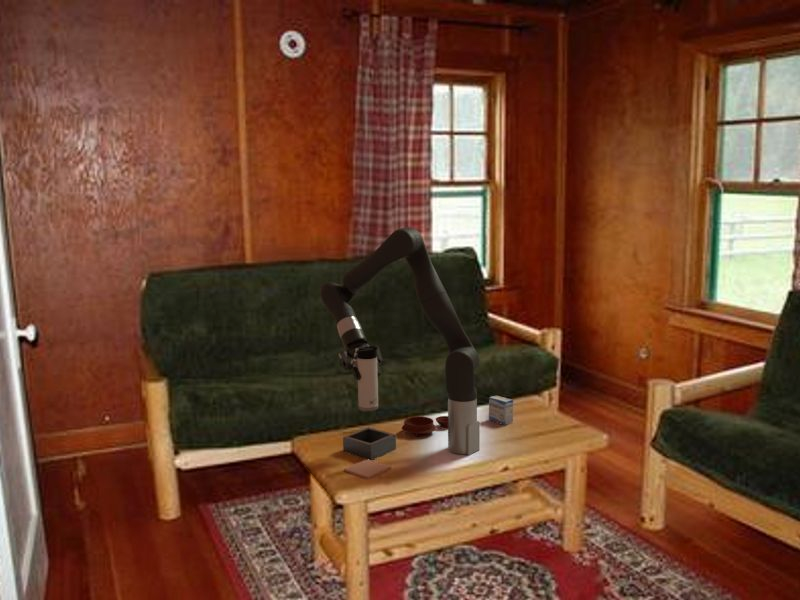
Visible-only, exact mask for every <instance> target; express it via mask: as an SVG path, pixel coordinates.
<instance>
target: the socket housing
mask: <svg viewBox="0 0 800 600" xmlns="http://www.w3.org/2000/svg"><path fill="white" fill-rule="evenodd" d="M342 449H343V450H342V452H343V453H345V452H346V453H345V454H348V453H350V454H349V455H352V454H353V455H352V456H355V455H356V457H358V456H359V458H361V457H362V458H361V459H364V458H365V459H369V460H371V461H374V460H376V459H378V458H380V457H382V456H384V454H385V455H387V454H389V453H391V452H393V450H394V451H396V450H397V435H396V434H395V433H391V432H388V431H385V430H380V429H376V428H373V427H370V426H367V427H364V428H363V429H360V430H357V431H354V432H352V433H350V434H347V435H344V436H342ZM395 449H396V450H395ZM386 453H387V454H386ZM377 457H378V458H377ZM375 458H376V459H375ZM365 459H364V460H365ZM373 459H374V460H373Z"/></svg>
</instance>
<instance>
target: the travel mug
mask: <svg viewBox="0 0 800 600" xmlns="http://www.w3.org/2000/svg"><path fill="white" fill-rule="evenodd" d="M377 349H378V345H375V346H373V345H371V346H370V345H369V347H363V348H360V349H359V350H357V364H356V367H358V370H359V372H360V375H361V378H360V380H357V394H358V395H357V398H358V399H357V400H358V409H359V410H360V411H362V412H373V411H376V410H378V409H379V382H378V381H379V379H378V378H379V377H378V373H377Z"/></svg>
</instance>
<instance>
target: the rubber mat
mask: <svg viewBox="0 0 800 600" xmlns="http://www.w3.org/2000/svg"><path fill="white" fill-rule="evenodd" d="M388 469H389V470H390V469H392V467H391V465H387V464H384V463H381V462H377V461H375V460H368V459H363V460H360V461H359V462H357V463H354V464H352V465H350V466H348V467H345V468H344V469H343V471H344V472H346V473H349V474H352V475H356V476H359V477H360V478H361V477H362V478H364V479H367V480H369V479H372V478H374V477H376V476H379V475H380V474H382V472H383V473H385V472H386V470H387V471H388ZM384 471H385V472H384Z"/></svg>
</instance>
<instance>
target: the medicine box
mask: <svg viewBox="0 0 800 600" xmlns="http://www.w3.org/2000/svg"><path fill="white" fill-rule="evenodd" d="M489 420H490V422H492V421H494V422H493V423H496V422H498V423H497V424H499V423H501V424H500V425H503V424H505V425H504V426H507V425H506V424H508V425H510V424H509V423H511V422H513V423H514V399H511V398H507V397H502V396H499V395H493V396H490V397H489V399H488V421H489ZM511 424H512V423H511Z"/></svg>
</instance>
